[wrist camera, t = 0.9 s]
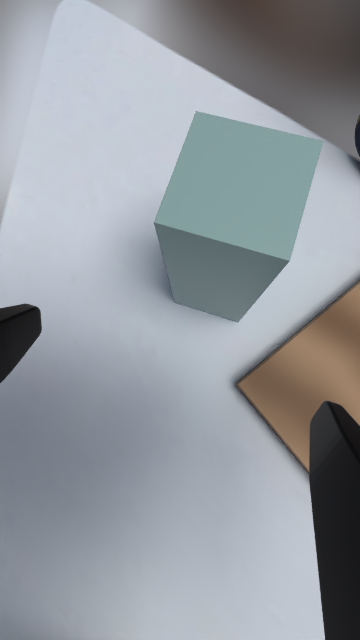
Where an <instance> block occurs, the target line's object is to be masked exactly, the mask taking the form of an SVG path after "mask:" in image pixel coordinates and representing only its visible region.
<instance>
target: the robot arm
mask: <svg viewBox="0 0 360 640" xmlns="http://www.w3.org/2000/svg"><path fill="white" fill-rule="evenodd" d="M41 330H42V326H41V313H40V309H39V308H38V307H36V306H33V305H30V304H21V305H16V306H11V307H6V308H0V383H1V382H2V381H3V380H4V379H5V378H6V377H7V376H8V375H9V373H10V372H11V371H12V370H13V369H14V368H15V366H16V365H17V364H18V363H19V361H20V360H21V359H22V357H23V356H24V355H25V354H26V352H27V351H28V350H29V348H30V347H31V346H32V344H33V343H34V342H35V341H36V339H37V338H38V337H39V335H40V333H41ZM309 481H310V492H311V502H312V512H313V522H314V532H315V542H316V552H317V562H318V572H319V582H320V592H321V602H322V612H323V622H324V632H325V640H360V425H359V424H358V423H357V422H356V421H355V420H354V419H353V418H352V416H351V415H350V414H349V413H348V412H347V411H346V410H345V409H344V407H343V406H342V405H340V404H338V403H334V402H331V401H328V400H327V401H324V402H323V403H322V404H321V406H320V407H319V408H318V410H317V411H316V413H315V414H314V416H313V417H312V419H311V422H310V441H309Z"/></svg>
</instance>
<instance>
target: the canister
mask: <svg viewBox="0 0 360 640" xmlns="http://www.w3.org/2000/svg"><path fill="white" fill-rule="evenodd" d="M355 144H356V148H357V151H358V154H359V156H360V116H359V118H358V121H357V124H356V128H355Z"/></svg>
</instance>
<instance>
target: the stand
mask: <svg viewBox="0 0 360 640" xmlns="http://www.w3.org/2000/svg"><path fill="white" fill-rule="evenodd" d="M236 386H237V387H238V388H239V389H240V391H241V392H242V393H243V394H244V395H245V397H246V398H247V399H248V400H249V402H250V403H251V404H252V405H253V406H254V408H255V409H256V410H257V411H258V413H259V414H260V415H261V416H262V417H263V419H264V420H265V421H266V422H267V424H268V425H269V426H270V427H271V428H272V430H273V431H274V432H275V433H276V435H277V436H278V437H279V438H280V439H281V441H282V442H283V443H284V444H285V445H286V447H287V448H288V449H289V450H290V452H291V453H292V454H293V455H294V456H295V458H296V459H297V460H298V461H299V463H300V464H301V465H302V466H303V467H304V469H305V470H306V471H307V472H308V474H309V441H310V422H311V419H312V417H313V416H314V414H315V413H316V411H317V410H318V408H319V407H320V406H321V404H322V403H323V402H324V401H327V400H328V401H331V402H334V403H338V404H340V405H342V406H343V407H344V409H345V410H346V411H347V412H348V413H349V414H350V415H351V416H352V418H353V419H354V420H355V421H356V422H357V423H358V424H359V425H360V280H359V281H358V282H357V283H356V284H355V285H353V286H352V287H351V288H350V289H349V290H347V291H346V292H345V293H344V294H343V295H341V296H340V297H339V298H338V299H337V300H335V301H334V302H333V303H332V304H331V305H329V306H328V307H327V308H326V309H325V310H323V311H322V312H321V313H320V314H319V315H317V316H316V317H315V318H314V319H313V320H311V321H310V322H309V323H308V324H307V325H305V326H304V327H303V328H302V329H301V330H299V331H298V332H297V333H296V334H295V335H293V336H292V337H291V338H290V339H289V340H287V341H286V342H285V343H284V344H283V345H281V346H280V347H279V348H278V349H277V350H275V351H274V352H273V353H272V354H271V355H269V356H268V357H267V358H266V359H265V360H263V361H262V362H261V363H260V364H259V365H257V366H256V367H255V368H254V369H253V370H251V371H250V372H249V373H248V374H247V375H245V376H244V377H243V378H242V379H241V380H239V381H238V382H237V383H236Z"/></svg>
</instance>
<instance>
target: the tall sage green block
mask: <svg viewBox="0 0 360 640" xmlns="http://www.w3.org/2000/svg"><path fill="white" fill-rule="evenodd" d="M322 143H323V141H321V140H316V139H312V138H308V137H304V136H299V135H295V134H291V133H287V132H282V131H278V130H274V129H270V128H265V127H261V126H257V125H253V124H248V123H244V122H240V121H236V120H231V119H227V118H223V117H218V116H214V115H210V114H206V113H201V112H197V111H196V113H195V115H194V118H193V121H192V123H191V126H190V129H189V131H188V134H187V137H186V139H185V142H184V144H183V147H182V150H181V152H180V155H179V158H178V160H177V163H176V166H175V168H174V171H173V174H172V176H171V179H170V181H169V184H168V187H167V189H166V192H165V195H164V197H163V200H162V203H161V205H160V208H159V211H158V213H157V216H156V218H155V221H154V224H155V228H156V232H157V236H158V240H159V244H160V247H161V251H162V255H163V259H164V263H165V267H166V270H167V274H168V278H169V282H170V286H171V290H172V294H173V297H174V301H175V303H178V304H181V305H185V306H188V307H191V308H194V309H197V310H201V311H204V312H207V313H210V314H213V315H217V316H220V317H223V318H226V319H229V320H233V321H236V322H239V321H240V319H241V318H242V317H243V316H244V315H245V314H246V312H247V311H248V310H249V309H250V308H251V306H252V305H253V304H254V303H255V302H256V300H257V299H258V298H259V297H260V296H261V294H262V293H263V292H264V291H265V290H266V288H267V287H268V286H269V285H270V284H271V282H272V281H273V280H274V279H275V278H276V276H277V275H278V274H279V273H280V272H281V271H282V269H283V268H284V267H285V266H286V265H287V263H288V262H289V261H290V258H291V254H292V251H293V247H294V243H295V240H296V236H297V233H298V229H299V225H300V222H301V218H302V215H303V211H304V208H305V204H306V200H307V197H308V193H309V190H310V186H311V183H312V179H313V175H314V172H315V168H316V165H317V161H318V158H319V154H320V150H321V147H322Z"/></svg>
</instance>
